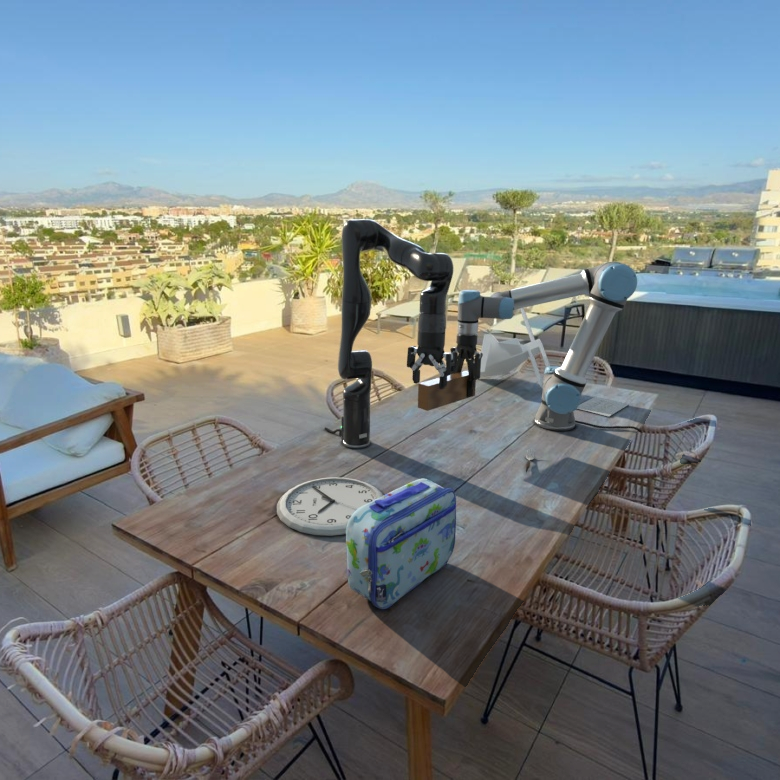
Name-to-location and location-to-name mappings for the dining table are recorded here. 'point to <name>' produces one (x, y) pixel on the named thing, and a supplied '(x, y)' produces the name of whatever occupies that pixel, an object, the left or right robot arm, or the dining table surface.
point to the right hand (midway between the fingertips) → (463, 394)
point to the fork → (529, 460)
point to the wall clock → (324, 504)
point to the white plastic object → (510, 354)
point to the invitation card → (601, 406)
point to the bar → (443, 391)
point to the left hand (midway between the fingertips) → (429, 385)
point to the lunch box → (400, 540)
